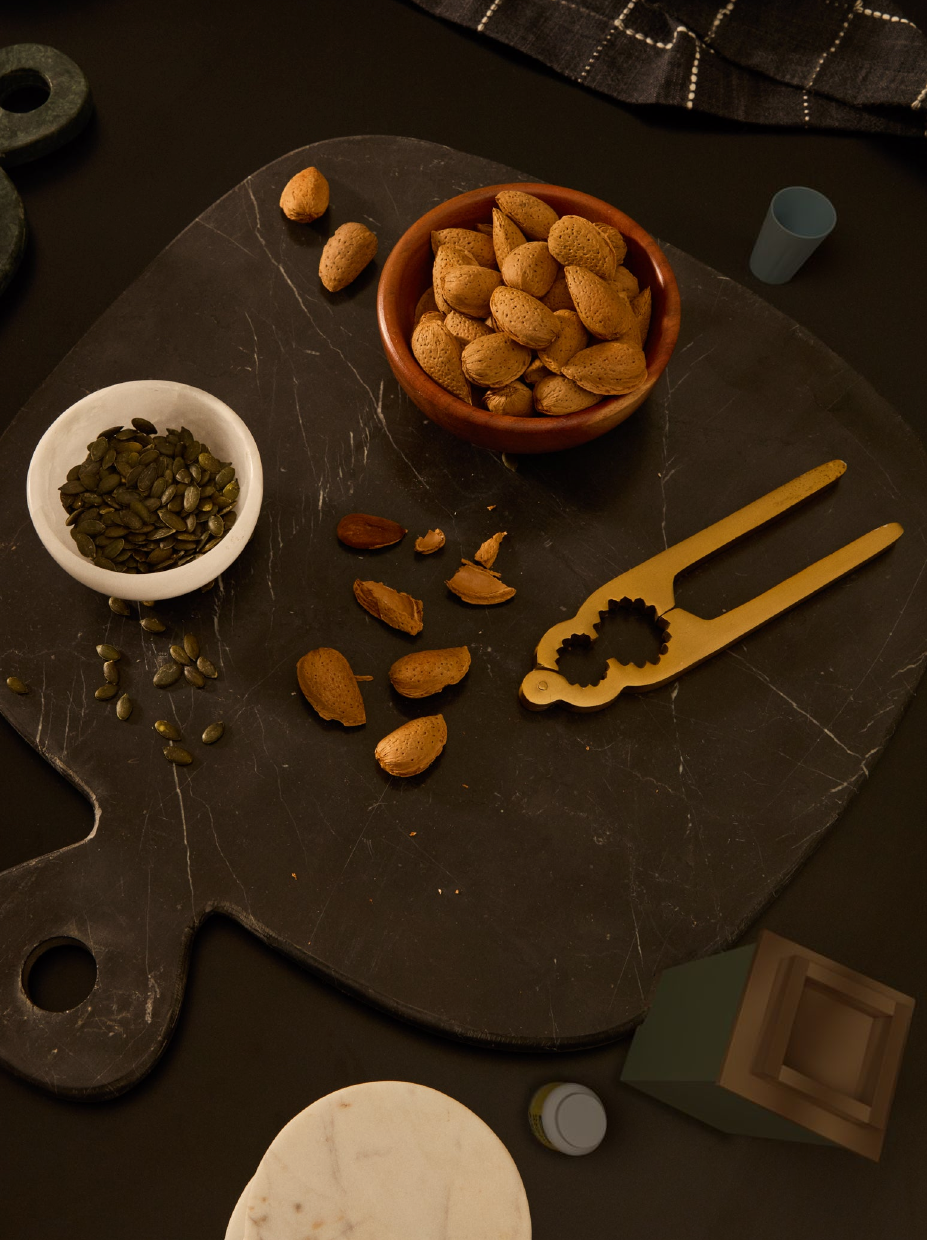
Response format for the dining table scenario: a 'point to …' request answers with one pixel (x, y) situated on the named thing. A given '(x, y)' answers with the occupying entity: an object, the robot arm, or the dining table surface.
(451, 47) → the dining table surface
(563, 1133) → the supplement bottle
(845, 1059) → the socket pad
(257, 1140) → the dining table surface
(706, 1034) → the stand
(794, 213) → the cup
